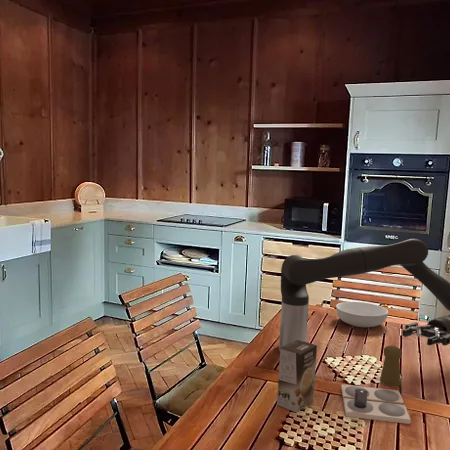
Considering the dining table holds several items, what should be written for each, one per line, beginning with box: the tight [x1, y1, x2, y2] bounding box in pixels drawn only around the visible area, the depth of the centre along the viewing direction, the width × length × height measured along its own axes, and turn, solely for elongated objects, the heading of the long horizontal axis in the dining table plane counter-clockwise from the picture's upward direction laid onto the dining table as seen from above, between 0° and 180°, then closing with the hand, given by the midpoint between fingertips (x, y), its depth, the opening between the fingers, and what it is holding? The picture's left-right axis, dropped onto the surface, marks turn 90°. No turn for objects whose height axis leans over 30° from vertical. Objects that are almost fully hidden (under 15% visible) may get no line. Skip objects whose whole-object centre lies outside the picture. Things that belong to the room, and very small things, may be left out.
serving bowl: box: [335, 301, 389, 328], centre depth 197 cm, size 21×21×7 cm
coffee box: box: [276, 340, 318, 413], centre depth 128 cm, size 9×6×16 cm
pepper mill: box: [379, 345, 403, 388], centre depth 143 cm, size 6×6×11 cm
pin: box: [354, 388, 368, 409], centre depth 126 cm, size 3×3×4 cm
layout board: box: [340, 383, 412, 425], centre depth 129 cm, size 16×16×1 cm
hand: (415, 337), depth 149 cm, fingers open, 8 cm apart
